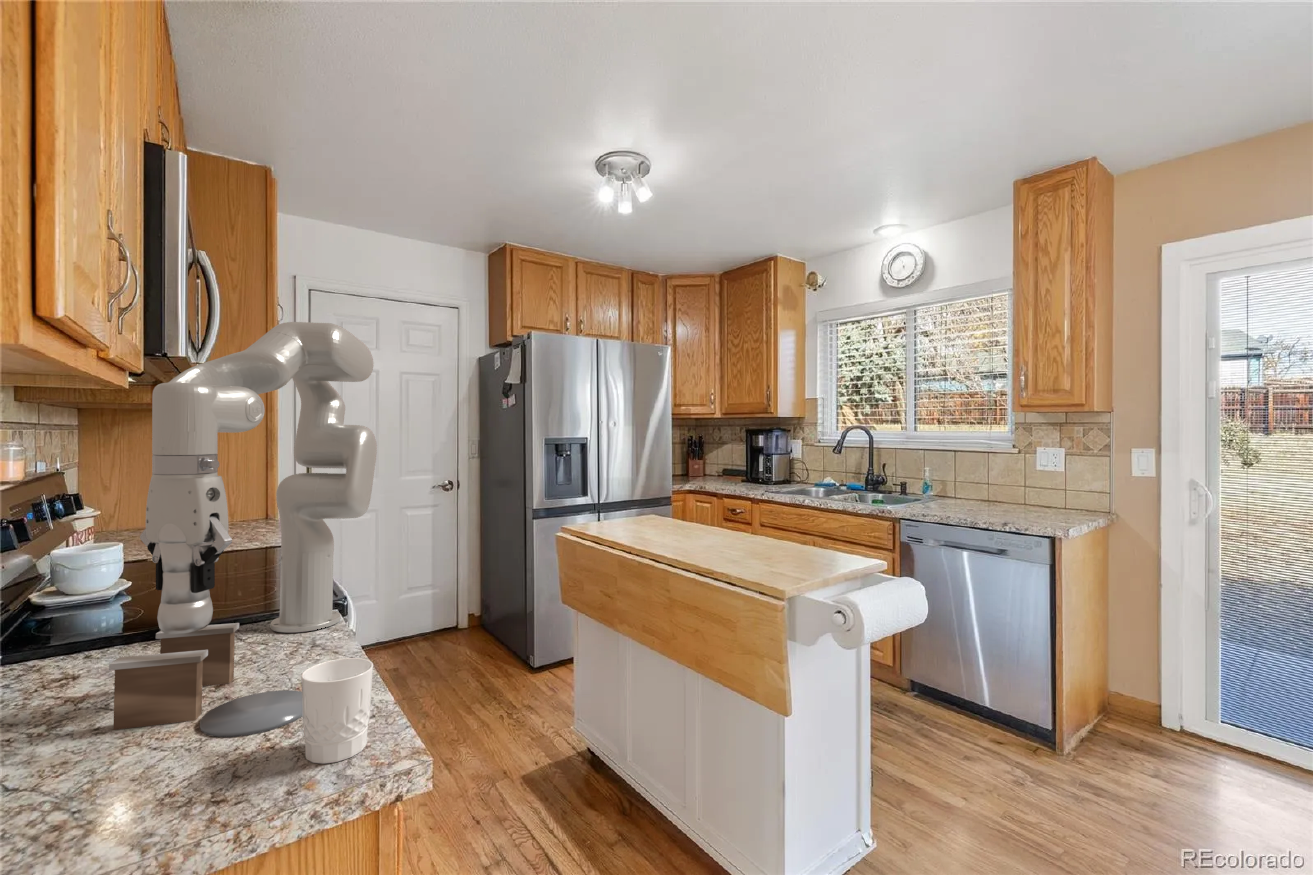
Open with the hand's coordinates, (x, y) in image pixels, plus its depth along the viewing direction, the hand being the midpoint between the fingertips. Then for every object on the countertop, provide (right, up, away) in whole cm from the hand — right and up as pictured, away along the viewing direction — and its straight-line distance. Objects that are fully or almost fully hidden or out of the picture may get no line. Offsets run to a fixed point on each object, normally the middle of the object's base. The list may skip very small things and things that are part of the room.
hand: (185, 588), depth 86 cm
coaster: (+14, -17, -4) cm, 22 cm away
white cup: (+30, -17, -14) cm, 37 cm away
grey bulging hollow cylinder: (0, -7, 0) cm, 7 cm away
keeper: (0, -16, -1) cm, 16 cm away
